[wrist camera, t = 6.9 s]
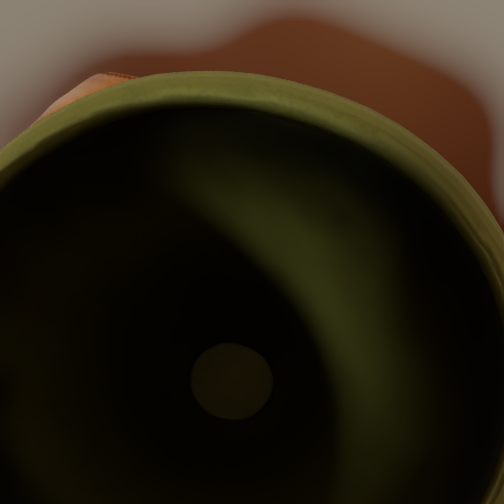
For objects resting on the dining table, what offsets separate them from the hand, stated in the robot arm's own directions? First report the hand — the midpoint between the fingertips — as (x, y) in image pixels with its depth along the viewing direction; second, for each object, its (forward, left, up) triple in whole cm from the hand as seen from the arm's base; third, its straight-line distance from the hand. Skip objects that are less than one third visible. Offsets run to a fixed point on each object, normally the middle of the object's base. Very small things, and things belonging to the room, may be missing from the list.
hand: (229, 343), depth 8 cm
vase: (-1, +1, -7) cm, 7 cm away
